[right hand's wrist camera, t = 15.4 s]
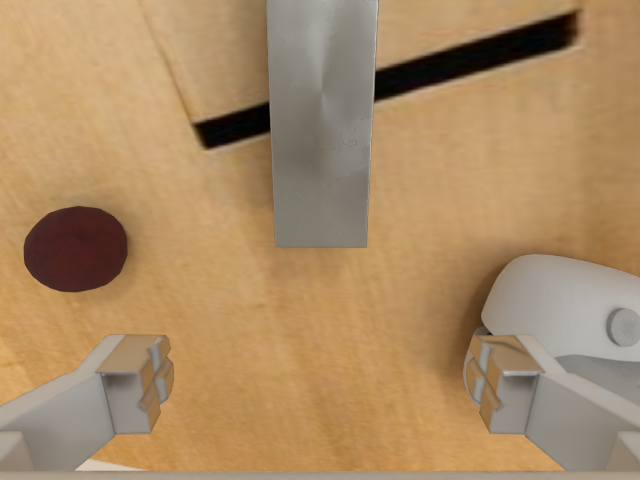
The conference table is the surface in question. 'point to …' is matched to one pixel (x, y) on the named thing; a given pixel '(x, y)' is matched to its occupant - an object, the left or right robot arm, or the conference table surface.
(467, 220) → the conference table surface
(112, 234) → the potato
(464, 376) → the white slotted rounded block
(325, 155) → the box
